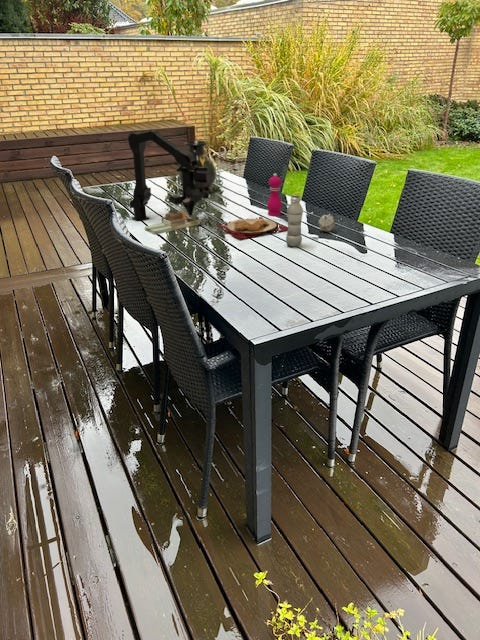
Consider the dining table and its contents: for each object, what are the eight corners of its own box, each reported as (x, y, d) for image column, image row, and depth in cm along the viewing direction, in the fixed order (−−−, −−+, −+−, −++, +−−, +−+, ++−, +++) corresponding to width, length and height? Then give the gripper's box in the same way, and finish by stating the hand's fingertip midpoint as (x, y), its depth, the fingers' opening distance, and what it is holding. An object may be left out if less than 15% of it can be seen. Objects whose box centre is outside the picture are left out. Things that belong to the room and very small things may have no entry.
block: (166, 221, 224) (165, 213, 222) (174, 219, 226) (173, 212, 225) (171, 223, 221) (170, 215, 219) (179, 221, 223) (179, 214, 222)
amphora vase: (215, 196, 276) (213, 144, 263) (177, 197, 276) (174, 145, 263) (217, 188, 295) (215, 139, 282) (182, 188, 295) (179, 139, 282)
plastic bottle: (303, 243, 201) (305, 195, 192) (299, 249, 195) (301, 199, 186) (288, 242, 203) (289, 194, 194) (283, 247, 197) (285, 198, 188)
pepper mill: (280, 216, 237) (281, 174, 228) (266, 216, 239) (266, 174, 230) (282, 212, 244) (283, 172, 234) (268, 212, 245) (268, 171, 236)
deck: (145, 230, 221) (144, 221, 219) (189, 220, 234) (188, 211, 233) (155, 234, 215) (154, 225, 213) (199, 224, 228) (199, 215, 226)
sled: (163, 223, 224) (162, 213, 222) (179, 219, 229) (179, 210, 227) (170, 225, 220) (169, 216, 218) (186, 222, 225) (186, 213, 223)
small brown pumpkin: (328, 239, 218) (343, 221, 215) (324, 237, 210) (339, 219, 207) (314, 226, 220) (328, 209, 217) (309, 225, 212) (324, 206, 209)
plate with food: (290, 232, 218) (290, 224, 216) (239, 241, 206) (239, 232, 204) (260, 220, 237) (260, 213, 235) (212, 227, 225) (212, 219, 223)
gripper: (180, 187, 211) (182, 222, 218) (215, 181, 221) (216, 215, 228) (167, 183, 218) (169, 217, 225) (201, 177, 229) (202, 210, 236)
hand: (190, 215), depth 228 cm, fingers closed
